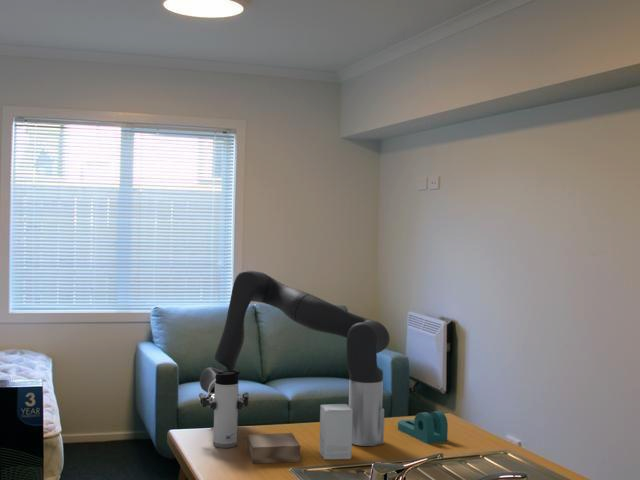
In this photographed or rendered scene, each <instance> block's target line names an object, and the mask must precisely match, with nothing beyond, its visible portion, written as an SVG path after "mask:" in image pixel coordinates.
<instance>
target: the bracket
mask: <svg viewBox="0 0 640 480" xmlns="http://www.w3.org/2000/svg"><path fill="white" fill-rule="evenodd" d="M448 427H449V426H448V420H447V415H446V414H445V413H444V412H443V411H441V410H437V411H435V410H434V411H431V412H426V411H425V412H418V413H416V414H415V416H414V419H401V420H398V421H397V430H398V431H400V432H401V433H404V434H406V435H407V436H409V437H412V438H414V439H416V440H418V441H420V442H422V443H424V444H427V445H428V444H436V443H445V442H448V432H449V431H448V429H449V428H448Z"/></svg>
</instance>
